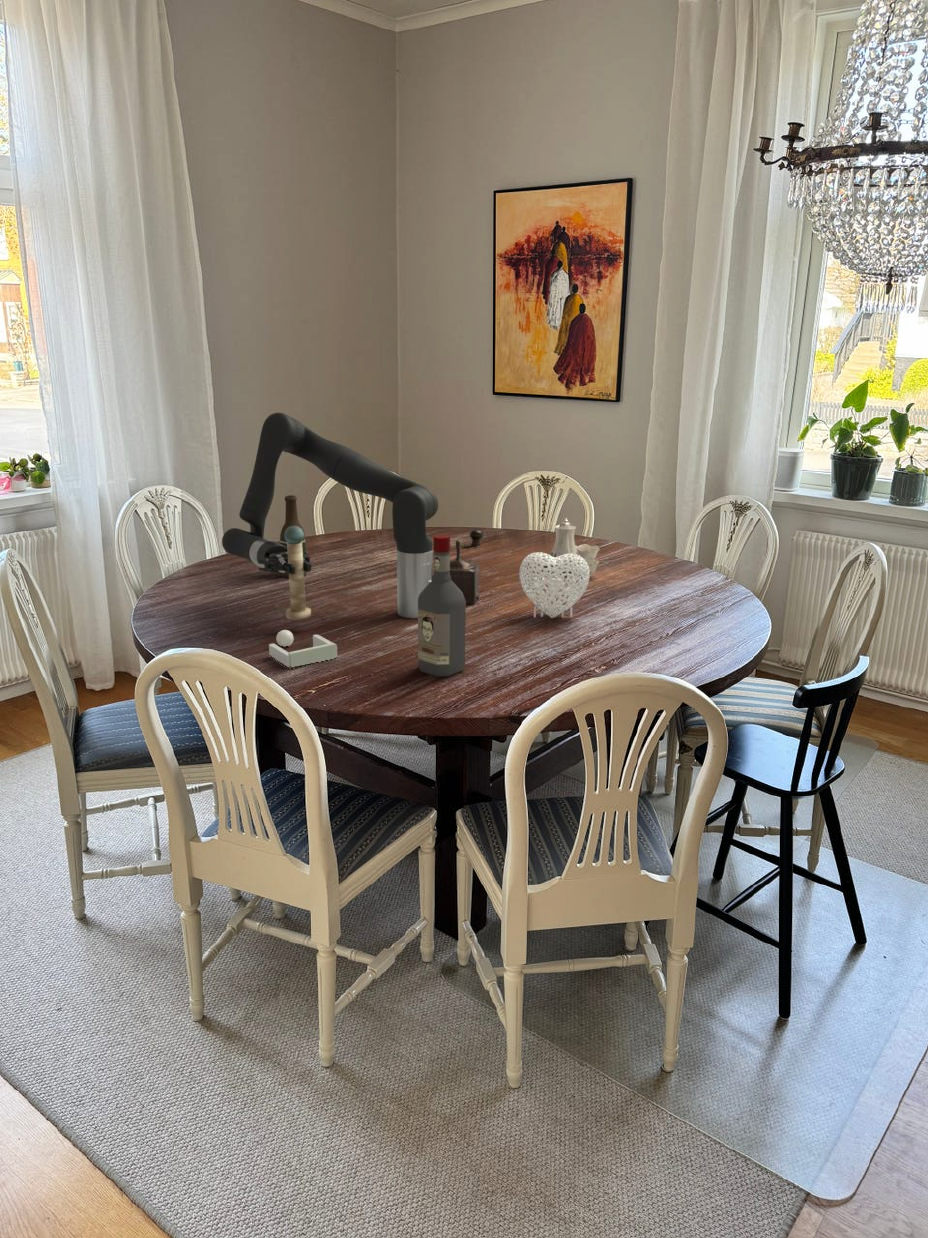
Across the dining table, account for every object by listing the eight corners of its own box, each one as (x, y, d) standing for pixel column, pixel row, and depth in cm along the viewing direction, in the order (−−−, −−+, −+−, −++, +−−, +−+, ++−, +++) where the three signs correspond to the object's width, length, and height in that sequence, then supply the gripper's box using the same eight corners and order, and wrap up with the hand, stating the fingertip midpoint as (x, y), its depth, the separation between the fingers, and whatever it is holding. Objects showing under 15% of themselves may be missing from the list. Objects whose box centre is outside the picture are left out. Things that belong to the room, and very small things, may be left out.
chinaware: (602, 587, 278) (611, 533, 273) (546, 580, 278) (554, 526, 273) (594, 564, 304) (603, 514, 299) (543, 557, 305) (551, 507, 300)
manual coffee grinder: (476, 605, 254) (477, 540, 248) (436, 603, 255) (436, 538, 250) (483, 589, 268) (484, 528, 263) (445, 588, 270) (445, 526, 264)
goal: (269, 656, 214) (268, 642, 213) (317, 646, 221) (317, 632, 220) (289, 669, 206) (288, 654, 205) (338, 658, 213) (338, 643, 212)
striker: (313, 612, 233) (308, 523, 226) (308, 619, 228) (303, 528, 221) (289, 612, 234) (284, 523, 227) (283, 619, 228) (278, 528, 221)
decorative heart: (516, 621, 240) (518, 556, 235) (519, 609, 250) (521, 547, 245) (587, 625, 238) (590, 559, 233) (587, 612, 248) (590, 549, 243)
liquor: (439, 658, 214) (439, 529, 204) (470, 668, 208) (472, 536, 199) (412, 669, 207) (411, 536, 198) (443, 679, 201) (444, 543, 192)
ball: (295, 643, 222) (294, 627, 221) (291, 649, 219) (291, 633, 217) (279, 643, 223) (278, 627, 221) (274, 649, 219) (273, 632, 218)
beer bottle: (311, 573, 284) (308, 494, 276) (300, 579, 277) (297, 499, 269) (288, 571, 286) (284, 492, 278) (276, 577, 279) (272, 497, 271)
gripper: (242, 544, 233) (273, 558, 219) (294, 537, 241) (326, 549, 228) (244, 574, 235) (275, 589, 222) (295, 565, 243) (328, 579, 230)
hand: (301, 568), depth 225 cm, fingers closed on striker, 3 cm apart
